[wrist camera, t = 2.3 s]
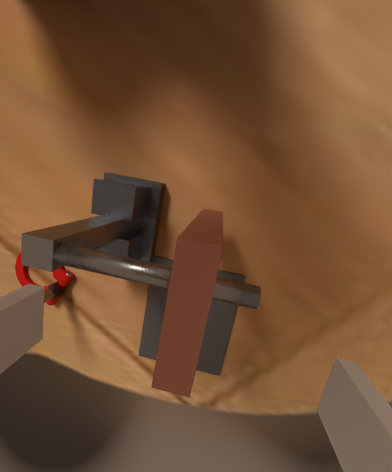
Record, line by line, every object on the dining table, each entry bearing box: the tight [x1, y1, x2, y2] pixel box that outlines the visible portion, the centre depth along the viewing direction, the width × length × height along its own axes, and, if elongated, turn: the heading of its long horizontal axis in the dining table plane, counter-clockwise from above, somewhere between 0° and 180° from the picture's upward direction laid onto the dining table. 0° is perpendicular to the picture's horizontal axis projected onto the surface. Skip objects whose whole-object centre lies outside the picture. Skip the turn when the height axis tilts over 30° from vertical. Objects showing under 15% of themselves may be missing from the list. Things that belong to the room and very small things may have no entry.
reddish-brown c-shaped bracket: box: [152, 209, 223, 397], centre depth 21 cm, size 10×2×17 cm, turn 169°
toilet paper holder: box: [22, 173, 260, 309], centre depth 24 cm, size 12×20×18 cm, turn 79°
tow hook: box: [15, 252, 74, 305], centre depth 31 cm, size 8×13×9 cm
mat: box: [139, 256, 245, 376], centre depth 36 cm, size 18×14×1 cm
